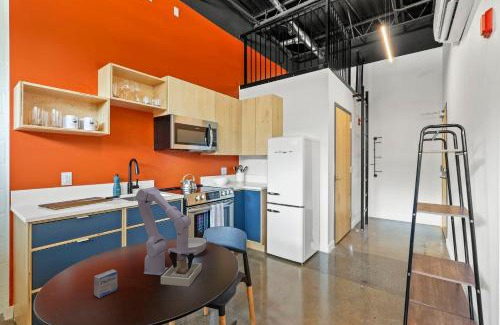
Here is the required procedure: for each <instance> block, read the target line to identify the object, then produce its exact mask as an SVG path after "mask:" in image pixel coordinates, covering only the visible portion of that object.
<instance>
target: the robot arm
mask: <svg viewBox="0 0 500 325" xmlns="http://www.w3.org/2000/svg"><path fill="white" fill-rule="evenodd" d="M135 197H136V200H137V206H138V211H139V213H140V217H141V219H142V222H143V225H144V226H143V227H144V228H145V231H146V234H147V237H148V239H147V241H146V243H145V246H146V255H145V258H144V272H143V274H144V275H152V276H153V275H154V276H155V275H156V276H162V275H163V274H164V273H165V272H166V271H167V270H168V269H169V267H167V266H165V264H166V263H165V262H166V261H165V260H166V254H165V253H167V254H168V257H169V258H170V260H171V263H172V265H173V267H174V268H175V267H176V266H177V261H178V255H186V256H187V258H186V259H187V262H188V269H190V268H191V265H192V263H193V260H194V258H195V256H197V255H198V254H197V250H194V249H190V248H188V238H189V227H190V226H191V225H192V220H191V218H190V217H189V216H188V215H185V214H184V213H182V212H181V211H180V210H179V209H178V207H177V206H174V205H171V204H170V203H168V200H166V199H165V198H164V196H163V195H162V194H161V191H160V190H159V189H158V187H156V186H152V187H146V188H139V189H138V191H137V192H136V194H135ZM154 202H155V204H157V205H158V206H159V207H161V209H163V210H164V211H165V215H166V217H168V218H169V219H170V221H171V222H172V223H173V227H174V228H175V232H176V247H169V244H168V242H167V240H166V239H165V237H164V235H162V234H160V232H159V228H158V226H157V223H156V220H155V216H154V214H153V211H152V208H151V205H152V203H154ZM168 247H169V248H168ZM166 250H167V251H166ZM187 254H189V255H187ZM196 254H197V255H196Z"/></svg>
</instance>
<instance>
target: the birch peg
mask: <svg viewBox="0 0 500 325" xmlns="http://www.w3.org/2000/svg"><path fill="white" fill-rule="evenodd" d="M177 261H178V274H186V273H187V262H188V258H186V257H180V258H179V259H178V258H177Z"/></svg>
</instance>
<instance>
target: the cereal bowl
mask: <svg viewBox="0 0 500 325" xmlns="http://www.w3.org/2000/svg"><path fill="white" fill-rule="evenodd" d="M188 248H190V249H194V250H197V254H196V255H195V256H198V255H199V254H200V253H203V252H204V251H205V249H206V248H207V240H206V239H205V238H202V237H188ZM188 255H189V254H186V256H188Z"/></svg>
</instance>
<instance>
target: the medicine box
mask: <svg viewBox="0 0 500 325" xmlns="http://www.w3.org/2000/svg"><path fill="white" fill-rule="evenodd" d="M117 290H118V271H117V270H115V269H110V270H107V271H104V272H102V273H99V274H96V275H93V295H94V296H95V297H97V298H99V299H101V298H103V296H104V297H105V295H106V296H108V295H109V294H112V293H114V292H116V291H117Z"/></svg>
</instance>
